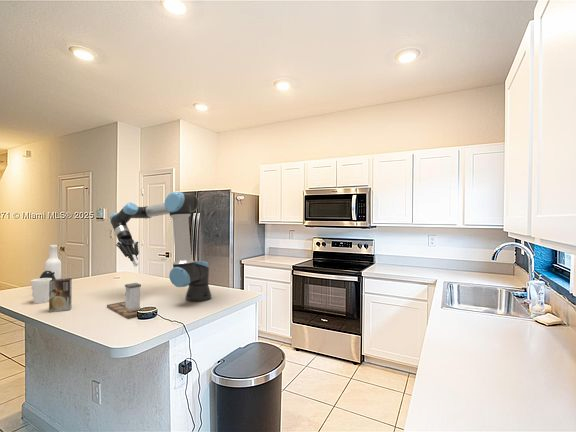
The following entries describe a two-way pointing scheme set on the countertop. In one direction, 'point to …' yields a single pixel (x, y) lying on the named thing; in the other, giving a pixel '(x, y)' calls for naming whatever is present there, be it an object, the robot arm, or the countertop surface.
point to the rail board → (122, 310)
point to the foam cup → (40, 290)
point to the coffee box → (60, 294)
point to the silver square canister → (132, 297)
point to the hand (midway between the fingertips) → (136, 264)
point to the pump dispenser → (48, 275)
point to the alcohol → (53, 262)
